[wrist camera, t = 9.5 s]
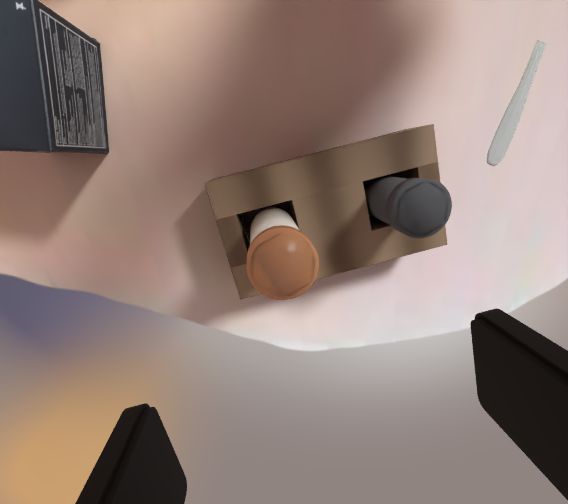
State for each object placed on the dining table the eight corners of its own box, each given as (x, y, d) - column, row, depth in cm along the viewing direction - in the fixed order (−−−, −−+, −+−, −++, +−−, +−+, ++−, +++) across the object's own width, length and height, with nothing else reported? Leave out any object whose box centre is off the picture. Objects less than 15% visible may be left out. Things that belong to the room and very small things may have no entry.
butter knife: (478, 159, 39) (501, 167, 39) (590, -118, 33) (616, -106, 33) (475, 159, 39) (498, 167, 40) (584, -113, 33) (610, -101, 34)
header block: (405, 129, 37) (433, 124, 32) (419, 232, 41) (447, 244, 35) (212, 179, 37) (204, 183, 31) (242, 279, 40) (240, 299, 35)
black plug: (389, 168, 38) (448, 172, 27) (395, 209, 39) (454, 230, 28) (348, 178, 38) (389, 187, 26) (355, 219, 39) (398, 245, 28)
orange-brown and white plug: (290, 199, 33) (310, 221, 22) (301, 245, 35) (325, 289, 23) (242, 212, 33) (237, 241, 22) (255, 257, 34) (257, 307, 23)
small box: (29, 35, 32) (-73, -21, 22) (101, 40, 33) (34, -12, 23) (45, 151, 35) (-40, 148, 25) (111, 154, 36) (54, 153, 25)
